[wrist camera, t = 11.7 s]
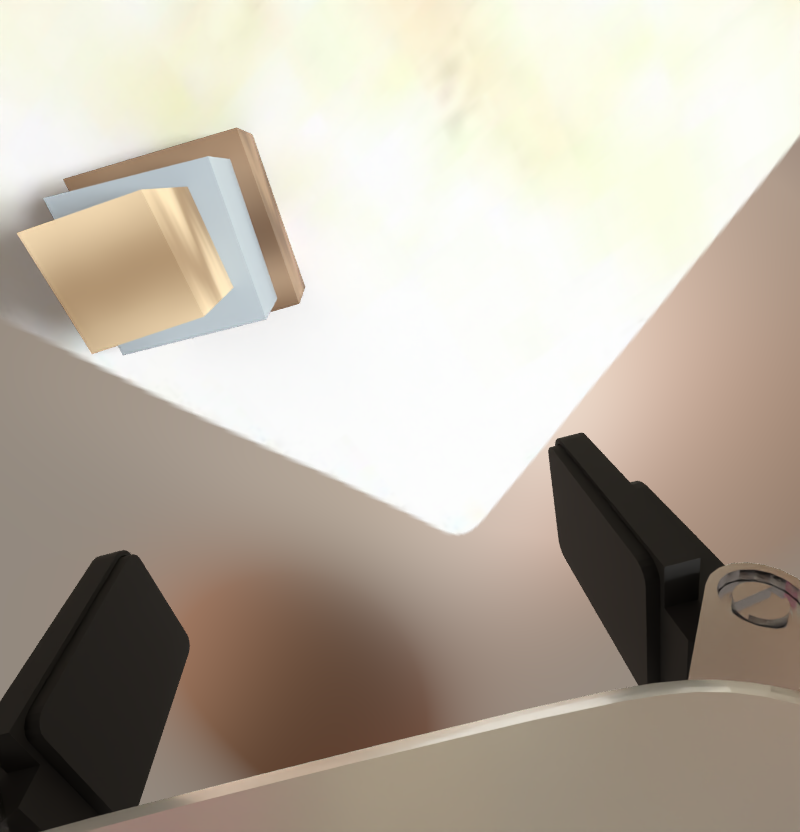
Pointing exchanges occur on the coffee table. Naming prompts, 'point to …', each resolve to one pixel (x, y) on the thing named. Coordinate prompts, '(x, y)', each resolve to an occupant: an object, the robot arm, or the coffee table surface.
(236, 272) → the slate cube
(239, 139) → the walnut base block
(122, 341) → the oak block
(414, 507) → the coffee table surface
